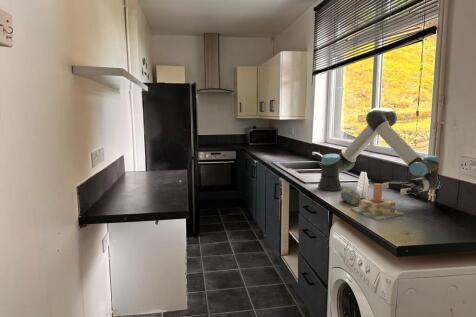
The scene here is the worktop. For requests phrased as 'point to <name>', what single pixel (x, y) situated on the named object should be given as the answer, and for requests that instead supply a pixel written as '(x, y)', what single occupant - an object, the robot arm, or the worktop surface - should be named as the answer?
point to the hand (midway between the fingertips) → (389, 189)
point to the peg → (377, 193)
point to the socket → (377, 209)
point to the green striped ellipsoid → (350, 196)
